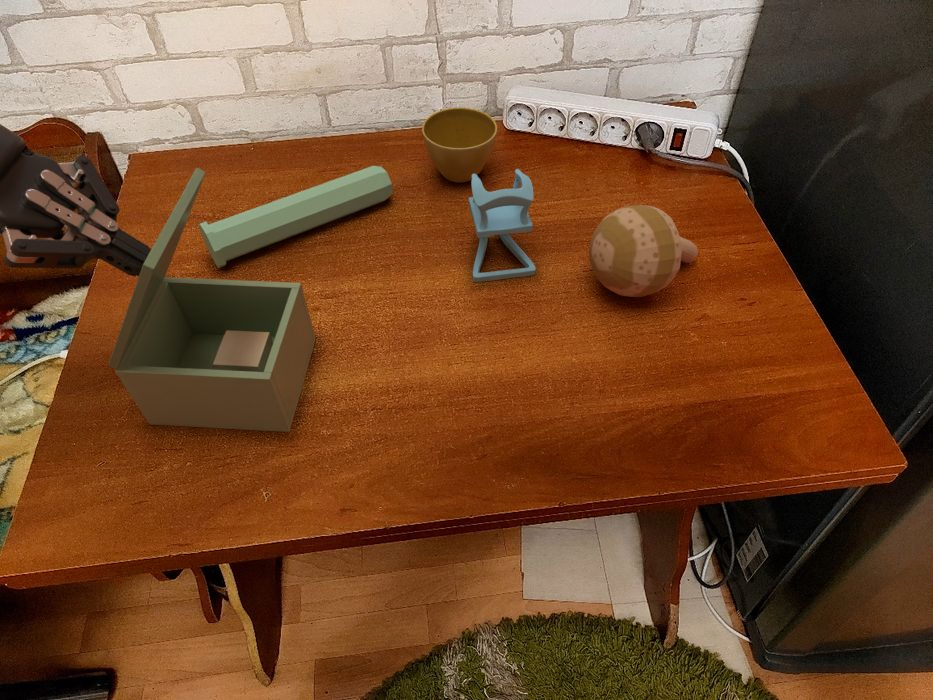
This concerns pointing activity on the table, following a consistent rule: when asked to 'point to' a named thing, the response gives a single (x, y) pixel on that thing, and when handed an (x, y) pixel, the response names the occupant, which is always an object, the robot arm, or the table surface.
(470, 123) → the flower pot
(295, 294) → the chest
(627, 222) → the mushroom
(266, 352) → the block
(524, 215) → the chair
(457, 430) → the table surface
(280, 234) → the green rod
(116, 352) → the lid
